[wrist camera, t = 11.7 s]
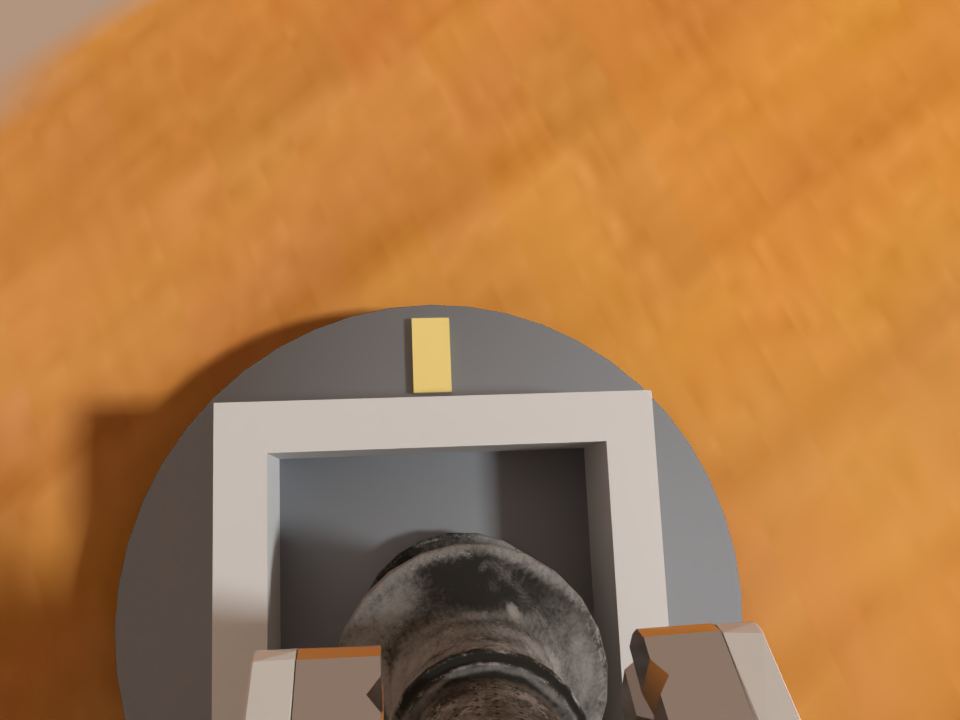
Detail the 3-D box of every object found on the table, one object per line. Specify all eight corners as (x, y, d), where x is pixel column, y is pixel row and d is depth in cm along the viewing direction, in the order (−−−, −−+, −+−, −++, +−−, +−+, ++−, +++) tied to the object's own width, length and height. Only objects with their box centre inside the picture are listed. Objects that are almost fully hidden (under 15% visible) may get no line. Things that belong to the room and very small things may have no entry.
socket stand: (125, 954, 22) (69, 1050, 18) (137, 322, 25) (90, 287, 21) (746, 896, 24) (816, 972, 20) (697, 311, 26) (751, 276, 23)
